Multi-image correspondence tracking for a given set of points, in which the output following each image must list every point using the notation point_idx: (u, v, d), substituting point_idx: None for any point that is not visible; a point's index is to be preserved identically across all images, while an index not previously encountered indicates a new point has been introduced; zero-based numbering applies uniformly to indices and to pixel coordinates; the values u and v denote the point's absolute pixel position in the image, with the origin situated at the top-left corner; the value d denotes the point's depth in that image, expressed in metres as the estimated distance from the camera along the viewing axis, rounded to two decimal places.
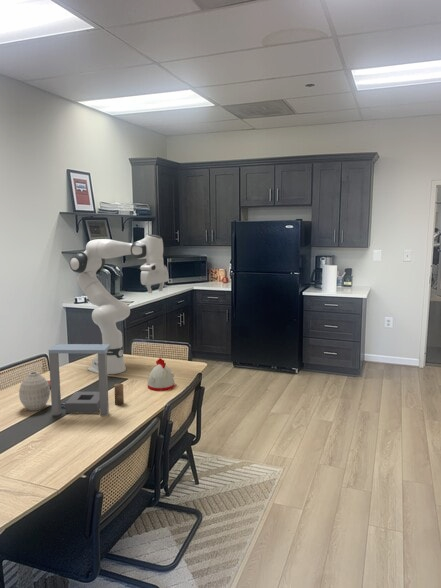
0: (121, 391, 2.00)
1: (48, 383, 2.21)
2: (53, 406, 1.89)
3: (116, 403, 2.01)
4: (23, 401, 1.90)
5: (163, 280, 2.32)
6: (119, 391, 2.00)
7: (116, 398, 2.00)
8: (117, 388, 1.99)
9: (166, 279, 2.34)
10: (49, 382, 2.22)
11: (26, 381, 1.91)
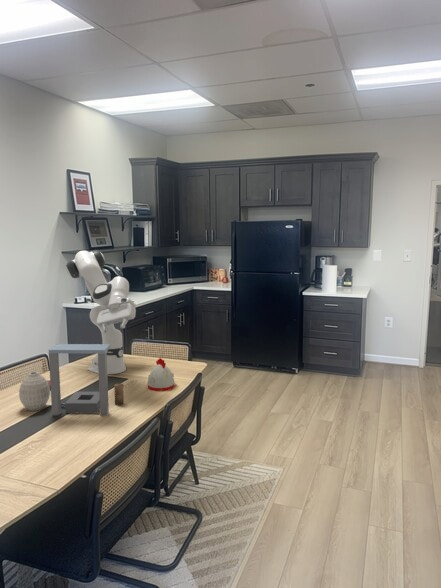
0: (121, 391, 2.00)
1: (48, 383, 2.21)
2: (53, 406, 1.89)
3: (116, 403, 2.01)
4: (23, 401, 1.90)
5: None
6: (119, 391, 2.00)
7: (116, 398, 2.00)
8: (117, 388, 1.99)
9: None
10: (49, 382, 2.22)
11: (26, 381, 1.91)
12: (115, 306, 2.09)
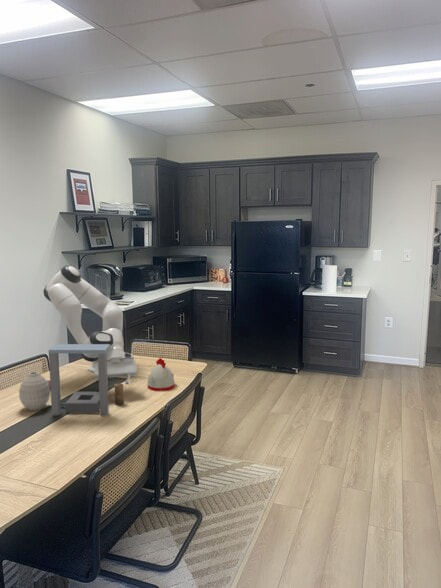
0: (121, 391, 2.00)
1: (49, 383, 2.21)
2: (53, 406, 1.89)
3: (116, 403, 2.01)
4: (23, 401, 1.90)
5: None
6: (119, 391, 2.00)
7: (116, 398, 2.00)
8: (117, 388, 1.99)
9: None
10: None
11: (26, 381, 1.91)
12: (118, 360, 2.09)
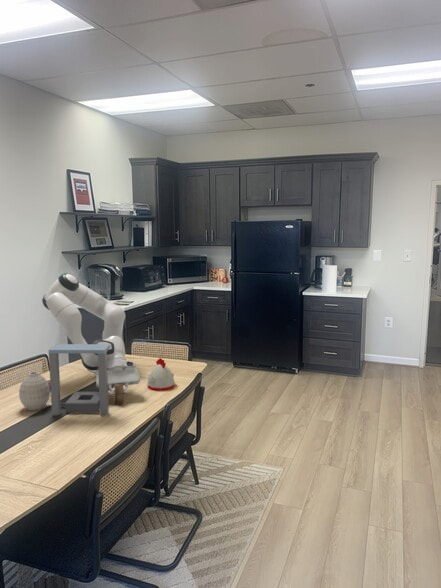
0: (121, 391, 2.00)
1: None
2: (53, 406, 1.89)
3: (116, 403, 2.01)
4: (23, 401, 1.90)
5: None
6: (119, 391, 2.00)
7: (116, 398, 2.00)
8: (117, 388, 1.99)
9: None
10: None
11: (26, 381, 1.91)
12: (120, 369, 2.06)
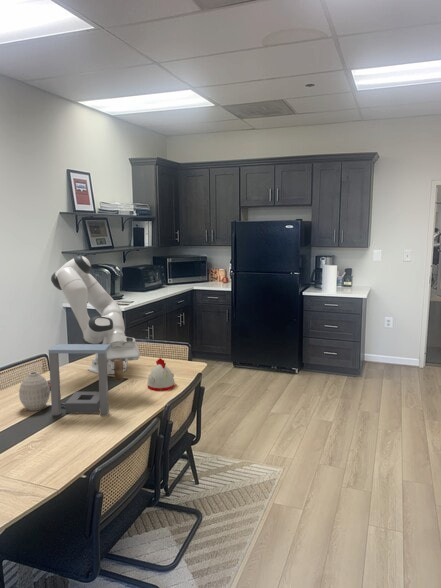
0: (121, 366, 1.99)
1: None
2: (53, 406, 1.89)
3: (116, 378, 1.99)
4: (23, 401, 1.90)
5: None
6: (119, 366, 1.98)
7: (116, 373, 1.99)
8: (117, 363, 1.98)
9: None
10: None
11: (26, 381, 1.91)
12: (119, 344, 2.04)
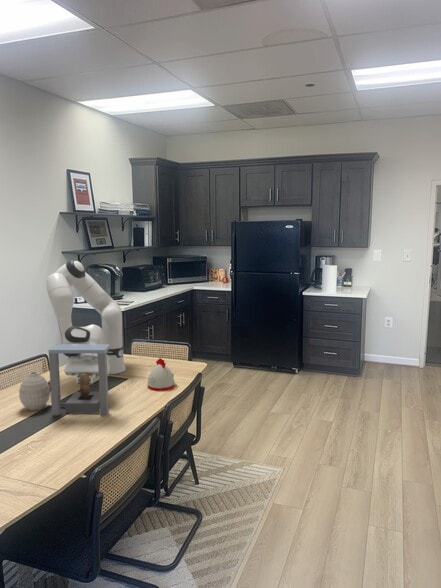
0: (85, 381, 1.95)
1: None
2: (53, 406, 1.89)
3: (81, 393, 1.96)
4: (23, 401, 1.90)
5: None
6: (83, 381, 1.95)
7: (80, 387, 1.96)
8: (81, 377, 1.95)
9: None
10: None
11: (26, 381, 1.91)
12: (89, 358, 2.01)
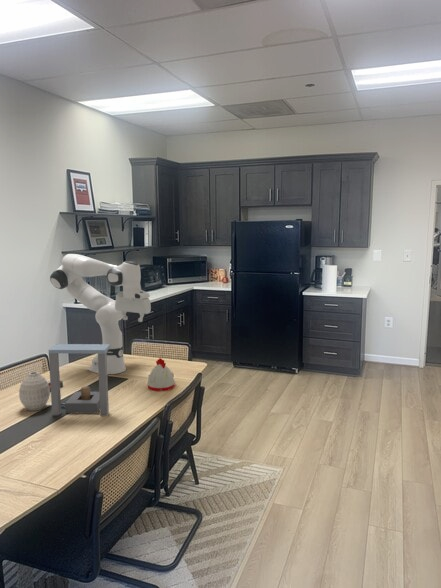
0: (86, 394, 1.96)
1: None
2: (53, 406, 1.89)
3: None
4: (23, 401, 1.90)
5: None
6: (84, 394, 1.96)
7: None
8: (82, 391, 1.96)
9: None
10: None
11: (26, 381, 1.91)
12: (130, 299, 2.13)
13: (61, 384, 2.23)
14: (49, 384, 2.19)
